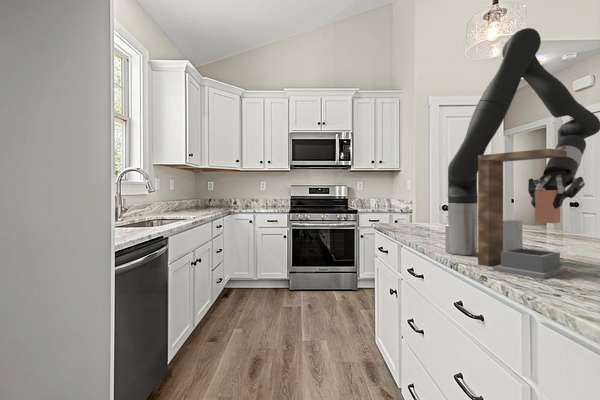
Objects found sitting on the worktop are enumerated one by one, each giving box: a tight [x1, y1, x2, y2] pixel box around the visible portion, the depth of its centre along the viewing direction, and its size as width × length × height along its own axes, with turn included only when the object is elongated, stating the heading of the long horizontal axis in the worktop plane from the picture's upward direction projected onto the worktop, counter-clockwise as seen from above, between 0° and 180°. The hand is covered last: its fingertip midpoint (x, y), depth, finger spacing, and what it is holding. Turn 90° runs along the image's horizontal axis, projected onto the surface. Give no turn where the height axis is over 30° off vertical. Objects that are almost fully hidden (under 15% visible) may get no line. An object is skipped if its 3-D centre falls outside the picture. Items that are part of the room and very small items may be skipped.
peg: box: [534, 189, 561, 224], centre depth 100 cm, size 4×4×9 cm
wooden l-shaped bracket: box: [477, 148, 567, 267], centre depth 97 cm, size 18×10×32 cm, turn 34°
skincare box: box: [503, 219, 524, 251], centre depth 113 cm, size 6×4×12 cm
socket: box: [492, 248, 568, 280], centre depth 94 cm, size 12×14×5 cm
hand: (544, 206), depth 99 cm, fingers closed on peg, 4 cm apart
